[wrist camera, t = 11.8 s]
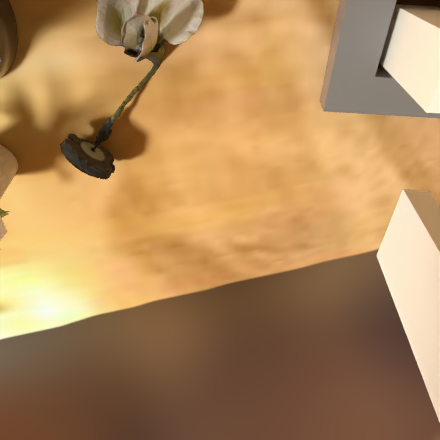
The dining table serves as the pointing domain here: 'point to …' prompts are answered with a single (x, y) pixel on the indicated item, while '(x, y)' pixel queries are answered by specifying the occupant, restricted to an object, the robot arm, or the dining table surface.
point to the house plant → (6, 172)
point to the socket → (364, 64)
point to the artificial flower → (135, 47)
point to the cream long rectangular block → (415, 53)
